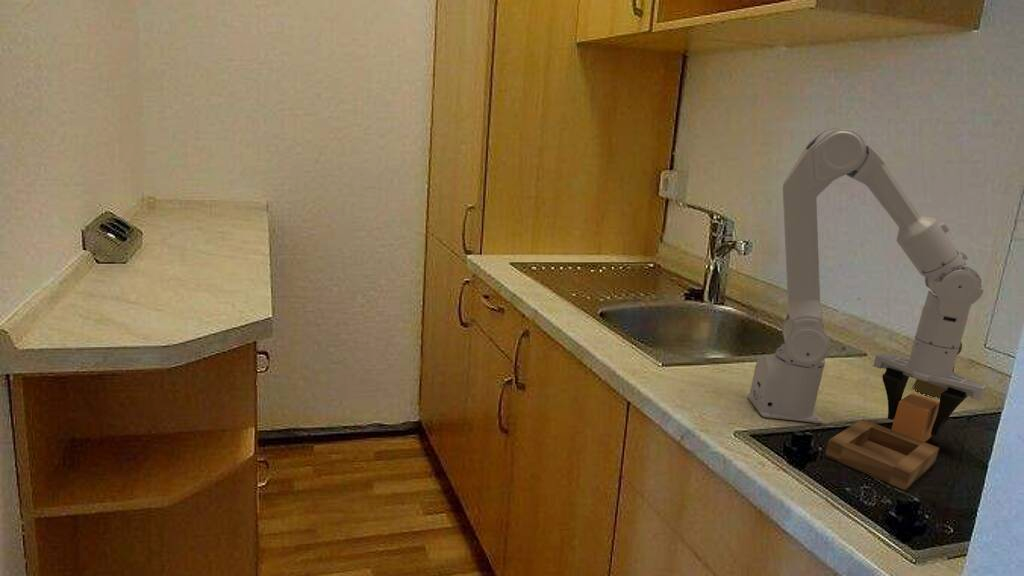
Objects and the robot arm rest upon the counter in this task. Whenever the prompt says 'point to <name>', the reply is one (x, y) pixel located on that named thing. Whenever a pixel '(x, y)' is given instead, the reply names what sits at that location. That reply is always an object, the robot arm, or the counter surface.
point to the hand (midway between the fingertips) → (913, 425)
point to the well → (882, 453)
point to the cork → (931, 385)
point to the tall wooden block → (916, 416)
